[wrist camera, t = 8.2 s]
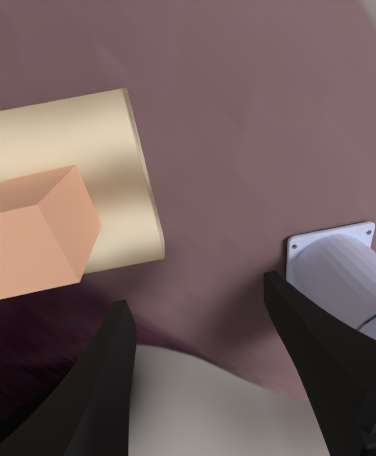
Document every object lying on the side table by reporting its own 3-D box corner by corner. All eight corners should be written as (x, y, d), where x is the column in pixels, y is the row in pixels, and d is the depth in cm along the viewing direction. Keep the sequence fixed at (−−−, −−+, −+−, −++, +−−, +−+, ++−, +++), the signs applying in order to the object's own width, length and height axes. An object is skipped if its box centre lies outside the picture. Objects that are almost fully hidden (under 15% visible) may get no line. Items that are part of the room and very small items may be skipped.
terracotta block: (101, 225, 18) (79, 282, 13) (40, 238, 18) (-6, 300, 13) (76, 164, 16) (36, 204, 11) (6, 179, 16) (-66, 226, 11)
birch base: (164, 238, 23) (164, 258, 20) (31, 263, 23) (15, 286, 20) (126, 87, 17) (121, 88, 14) (-53, 121, 17) (-92, 128, 14)
